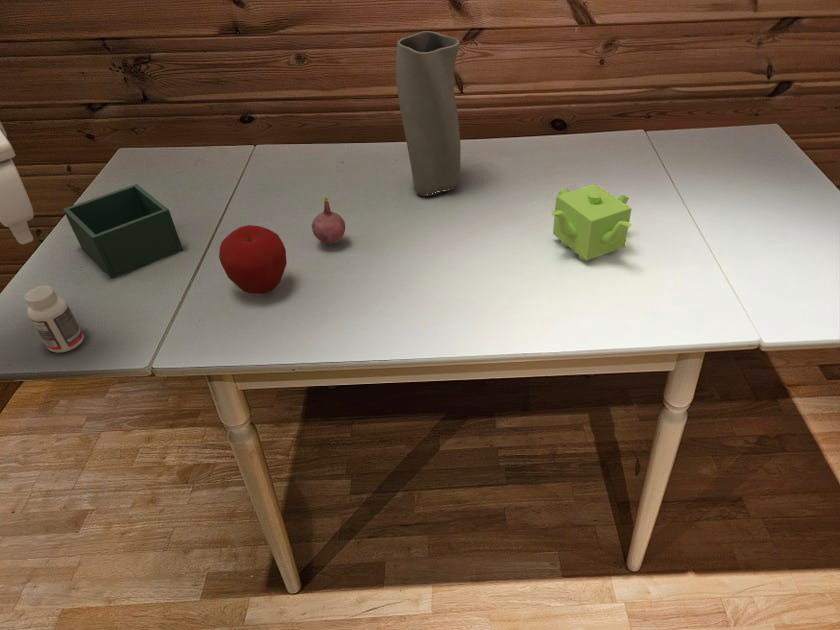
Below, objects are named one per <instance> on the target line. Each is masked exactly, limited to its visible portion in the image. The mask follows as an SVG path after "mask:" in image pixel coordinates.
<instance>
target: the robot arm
mask: <svg viewBox="0 0 840 630" xmlns="http://www.w3.org/2000/svg"><path fill="white" fill-rule="evenodd" d="M15 157H16V152H15V150H14V148H13V146H12V144H11V142H10V141H9V138H8V134H7V131H6V129H5V128H4V126H3V123H2V121H0V223H1V224H2V225H3V226H4V227H5V228H9V229H10V232H11V233H12V235H13V236H14V239H15V240H16V241H17V242H18V243H19V244H20V245H26V244H28V243H29V244H30V243H32V242H33V240H34V236H33V235H32V234H33V233H31V230H30V227H29V224H28V222H29V221H32V219H35V218H34V217H35V214H34V213H35V212H34V208H33V205H32V203H31V200H30V197H29V196H28V193H27V190H26V187H25V185H24V183H23V181H22V178H21V176H20V173H19V171H18V169H17V167H16V165H15V163H14V160H13V158H15Z"/></svg>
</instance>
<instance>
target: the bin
mask: <svg viewBox="0 0 840 630" xmlns="http://www.w3.org/2000/svg"><path fill="white" fill-rule="evenodd" d="M62 210H63V212H64V215H65V216H66V219H67V221H68V223H69V225H70V227H71V230H72V232H73V233H74V236H75V237H76V240H77V242H78V243H79V246H80V248H81V250H82V251H83V252H84V253H85V254H86V255H87V256H88V257H89V258H90V259H91V260H92V261H93V262H94V263H95V264H96V265H97V266H98V267H99V268H100V269H101V270H102V272H104V273H105V275H107V276H108V278H110V279H111V280H113V279H116V278H118V277H120V276H123V275H125V274H128V273H130V272H132V271H135V270H138V269H140V268H142V267H144V266H148V265H150V264H152V263H154V262H156V261H157V262H158V261H160V260H162V259H165V258H168V257H169V256H171V255H174V254H177V253H179V252H182V251H183V250H184V249H183V245H182V242H181V240H180V237H179V234H178V231H177V229H176V226H175V223H174V220H173V217H172V214H171V211H170V209H169V208H167V207H166V206H165V205H164V204H162V203H161V202H160V201H159V200H158V199H156V197H154V196H152V194H150V193H149V192H148V191H146V190H145V189H144V188H142V187H141V186H140V185H139V184H138V183H135V184H132V185H129V186H127V187H126V186H125V187H124V188H120V189H118V190H115V191H112V192H107V193H105V194H103V195H100V196H97V197H94V198H91V199H88V200H85V201H82V202H79V203H76V204H73V205H70V206H68V207H65V208H62Z"/></svg>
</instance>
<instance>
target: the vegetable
mask: <svg viewBox="0 0 840 630" xmlns="http://www.w3.org/2000/svg"><path fill="white" fill-rule="evenodd" d="M323 201H324V202H323V204H324V206H323V211H322V212H320V213H318V214H317V215H316V216H315V217H314V219H313V220H312V223H311V230H312V234H313V236H314V237H315V238H316V239H317V240H318V241H320V242H322V243H324V244H327V245H331V244H336V243H337V242H339V241H340V240H341V239H342V238H343V237H344V235H345V231H346V222H345V220H344V219H343V217H342V216H341V215H340V214H338V213H337V212H334V211H331V206H330V202H329V199H328V197H327V196H326V195H325V196H323Z"/></svg>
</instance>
